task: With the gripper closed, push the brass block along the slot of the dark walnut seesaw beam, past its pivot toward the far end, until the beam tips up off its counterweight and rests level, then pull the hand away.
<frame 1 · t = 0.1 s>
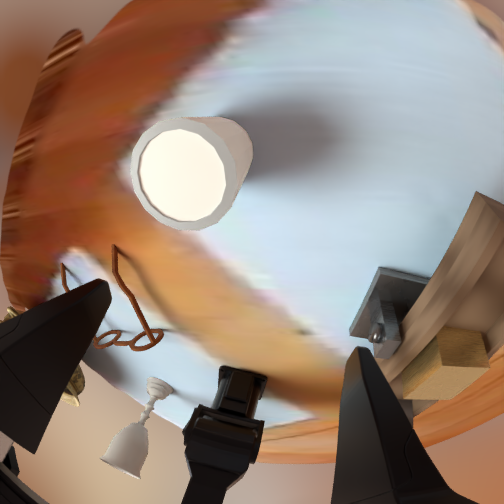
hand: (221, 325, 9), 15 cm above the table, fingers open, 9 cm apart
chalice: (160, 384, 44), on the table
glasses: (112, 292, 34), on the table
white cup: (218, 151, 21), on the table
pivot stand: (429, 313, 24), on the table
ceramic bowl: (58, 334, 46), on the table
beam: (442, 359, 19), point 6 cm above the table, hinge at -6.4°, touching brass block
brass block: (441, 347, 20), point 5 cm above the table, tilted 6°, touching beam
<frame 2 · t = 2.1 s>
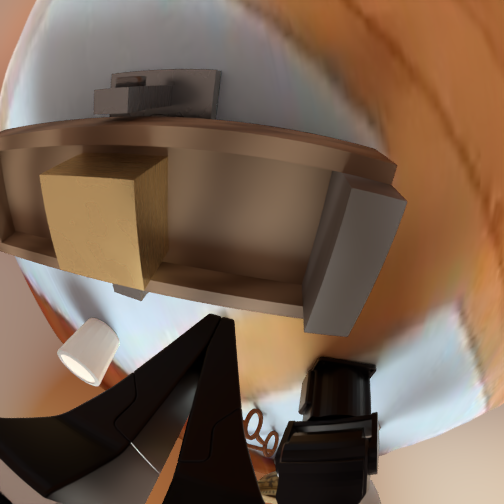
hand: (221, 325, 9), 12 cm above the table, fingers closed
chalice: (364, 428, 34), on the table
glasses: (232, 418, 40), on the table
white cup: (104, 332, 34), on the table
pivot stand: (160, 177, 20), on the table
ceramic bowl: (311, 465, 48), on the table
beam: (114, 209, 15), point 6 cm above the table, hinge at -6.4°, touching brass block
brass block: (123, 201, 16), point 5 cm above the table, tilted 6°, touching beam
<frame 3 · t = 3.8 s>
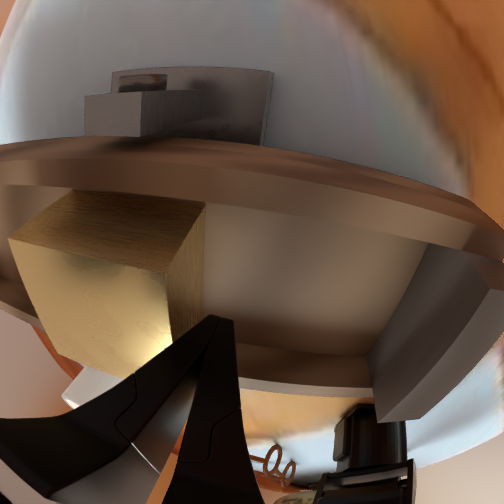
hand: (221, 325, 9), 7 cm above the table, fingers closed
glasses: (248, 449, 35), on the table
white cup: (111, 370, 29), on the table
pivot stand: (181, 215, 15), on the table
ceramic bowl: (326, 485, 43), on the table
beam: (125, 279, 10), point 6 cm above the table, hinge at -6.4°, touching brass block
brass block: (136, 261, 11), point 5 cm above the table, tilted 6°, touching beam, gripper
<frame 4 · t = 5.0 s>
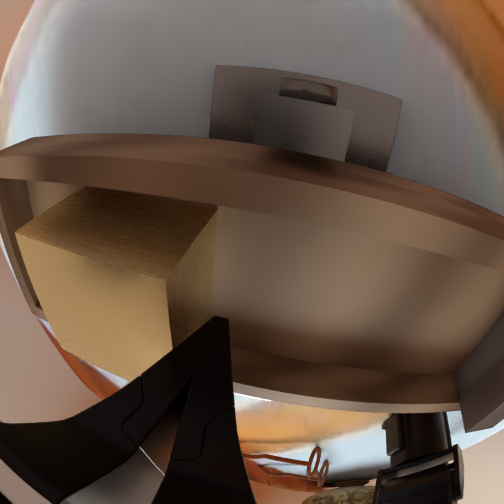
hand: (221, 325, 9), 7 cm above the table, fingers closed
glasses: (283, 453, 35), on the table
pivot stand: (283, 232, 15), on the table
ceramic bowl: (351, 481, 43), on the table
beam: (267, 312, 10), point 6 cm above the table, hinge at 0.5°, touching brass block
brass block: (146, 261, 11), point 5 cm above the table, touching beam, gripper
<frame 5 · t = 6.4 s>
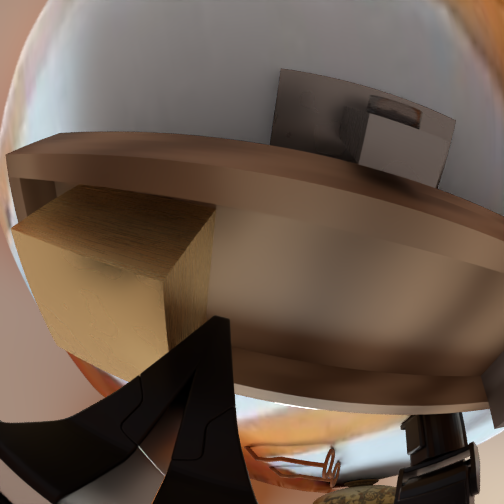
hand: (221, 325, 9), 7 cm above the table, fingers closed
glasses: (296, 455, 35), on the table
pivot stand: (334, 242, 14), on the table
ceramic bowl: (361, 481, 43), on the table
beam: (342, 327, 9), point 6 cm above the table, hinge at 0.6°, touching brass block
brass block: (142, 259, 11), point 5 cm above the table, touching beam, gripper
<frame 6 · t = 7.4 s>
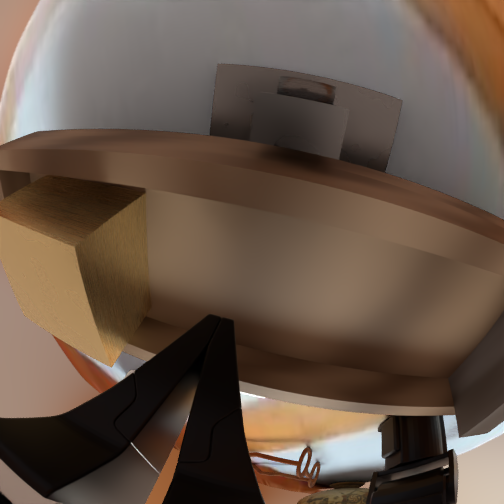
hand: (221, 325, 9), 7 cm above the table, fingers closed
glasses: (275, 453, 35), on the table
pivot stand: (282, 230, 15), on the table
ceramic bowl: (347, 483, 43), on the table
beam: (261, 308, 10), point 6 cm above the table, hinge at 0.5°, touching brass block
brass block: (95, 241, 12), point 5 cm above the table, touching beam
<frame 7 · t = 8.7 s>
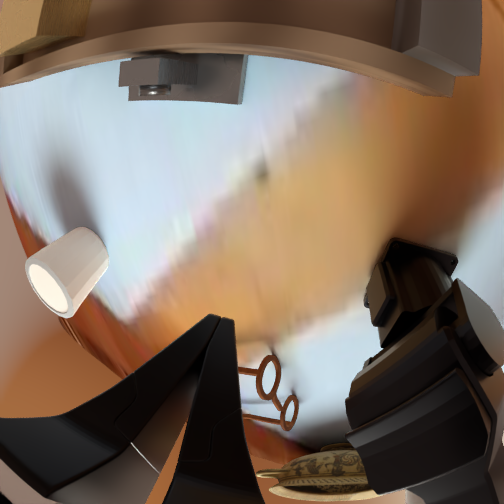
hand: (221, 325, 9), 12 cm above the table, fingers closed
glasses: (239, 379, 33), on the table
white cup: (90, 249, 26), on the table
ceramic bowl: (341, 448, 40), on the table
brass block: (63, 7, 9), point 5 cm above the table, touching beam
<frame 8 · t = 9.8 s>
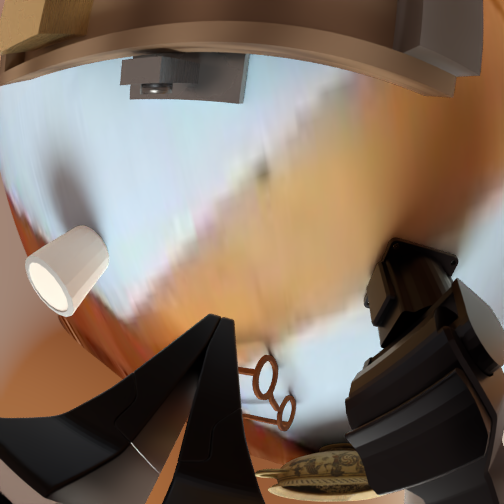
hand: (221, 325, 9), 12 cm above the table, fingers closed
glasses: (236, 378, 33), on the table
white cup: (90, 248, 26), on the table
ceramic bowl: (341, 448, 40), on the table
brass block: (65, 5, 9), point 5 cm above the table, touching beam
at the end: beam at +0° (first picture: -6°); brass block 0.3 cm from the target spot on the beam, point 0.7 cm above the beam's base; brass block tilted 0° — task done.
